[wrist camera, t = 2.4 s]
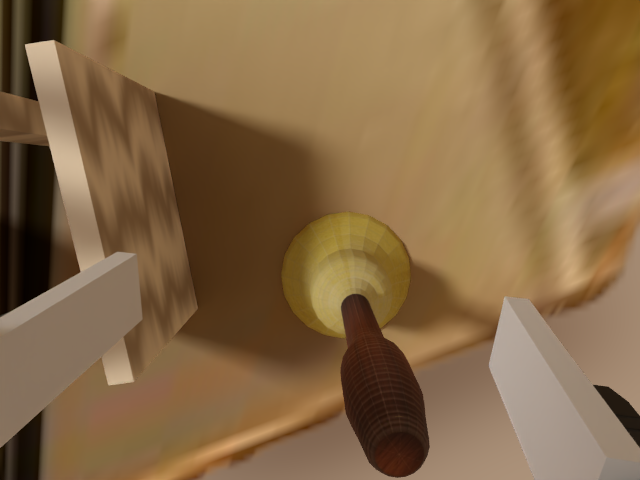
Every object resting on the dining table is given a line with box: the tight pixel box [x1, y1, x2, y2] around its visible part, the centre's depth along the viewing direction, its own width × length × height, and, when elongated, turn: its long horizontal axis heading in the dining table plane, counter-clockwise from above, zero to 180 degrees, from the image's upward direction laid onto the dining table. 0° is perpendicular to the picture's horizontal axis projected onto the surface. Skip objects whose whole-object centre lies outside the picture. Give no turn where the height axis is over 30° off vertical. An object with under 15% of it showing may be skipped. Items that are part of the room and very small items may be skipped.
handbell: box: [281, 212, 429, 478], centre depth 27 cm, size 12×12×25 cm
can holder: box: [0, 40, 198, 385], centre depth 29 cm, size 20×9×18 cm, turn 8°
